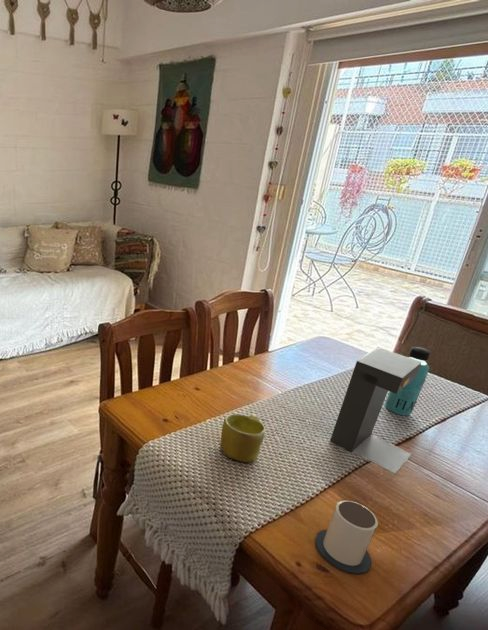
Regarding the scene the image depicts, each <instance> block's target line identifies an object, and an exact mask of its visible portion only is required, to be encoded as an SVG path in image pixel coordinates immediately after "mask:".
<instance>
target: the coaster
mask: <svg viewBox="0 0 488 630" xmlns="http://www.w3.org/2000/svg"><path fill="white" fill-rule="evenodd" d="M326 532H327V529H323V530H321V531H319V532H318V533H317V534H316V535H315V540H314V541H315V542H314V544H315V547H316V550H317V551H318V553H319V554H320V556H321V557H322V558H323V559H324V561H326V562H327V563H328V564H329V565H330V566H331V567H333V568H334V569H337V570H339V571H341V572H343V573H347V574H350V575H363V574H366V573H368V571H370V569H371V566H372V558H371V556H370V553H369V551H368V550H367V551H366V553H365V555H364V558H363V560H362V562H361V563H360V564H358V565H355V566H351V565H346V564H343V563H341V562H339V561H337V560H335V559H334V558H333V557H332V556H330V555H329V553H328V552H327V551H326V549H325V548H324V545H323V540H324V537H325V534H326Z"/></svg>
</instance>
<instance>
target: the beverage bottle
mask: <svg viewBox="0 0 488 630" xmlns="http://www.w3.org/2000/svg"><path fill="white" fill-rule="evenodd" d="M430 354H431V352H430V351H429V350H428V349H427V348H424V347H420V346H412V347H411V348H410V351H409V352H408V355H409V357H408V358H411V359H414V360H417V361H420V362H422V363H421V366H420V368H419V371H418V373H417V376H416V377H415V378H414V379H413V380H412V381H411V382H410V383H409V384H407V385H406V386H405V387H404V388H403V389H402V390H401V391H399V392H398V393H397V394H395V393H393V392H390V391H388V393H387V396H386V399H385V400H384V402H385V403H384V406H385V408H386V409H387V410H389V411H391V412H392V413H394V414H397V415H401V416H409V415H411V413H413V411H414V409H415V406H416V405H417V402H418V398H419V397H420V393H421V391H422V389H423V387H424V385H425V383H426V379H427V377H428V373H429V371H430V369H431V368H430V366H429V363H427V362H426V361H428V360H429V358H430Z"/></svg>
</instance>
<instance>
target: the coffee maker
mask: <svg viewBox="0 0 488 630" xmlns="http://www.w3.org/2000/svg"><path fill="white" fill-rule="evenodd" d="M421 363H422V362H420V361H417V360H414V359H411V358H409V357H408V356H405V355H403V354H400V353H397V352H394V351H392V350H388V349H385V348H382V347H379V346H377V347H376V348H374V349H372V350H371V351H369V352H368V353H366V354H365V355H364V356H362V357H361V358H359V359H357V361H356V362H355V365H354V368H353V371H352V373H351V377H350V380H349V383H348V386H347V389H346V392H345V395H344V398H343V401H342V404H341V407H340V410H339V413H338V415H337V419H336V422H335V424H334V428H333V431H332V433H331V436H330V440H329V442H330V443H332V444H334V445H335V446H338V447H340V448H342V449H344V450H345V451H348V452H349V453H354V454H356V455H358V456H359V457H362V458H364V459H365V460H367V461H369V462H371V463H373V464H375V465H377V466H378V467H381V468H383V469H384V470H386V471H389V472H390V473H392V474H394V475H396V474H397V473H398V471H399V470H401V468H402V467H403V466H404V465H405V463H406V462H407V461H408V460H409V459H410V458H411V457H412V455H413V454H412V453H410V452H409V451H406V450H404V449H402V448H400V447H398V446H396V445H394V444H392V443H390V442H388V441H386V440H385V439H384V440H383V439H381V438H379V437H377V436H375V435H373V432H374V429H375V425H376V423H377V420H378V418H379V415H380V413H381V411H382V408H383V405H384V402H385V400H386V398H387V396H388V393H389V392H393V393H395V394H397V393H398V392H399V391H401V390H402V389H403V388H404V387H405V386H406V385H407V384H409V383H410V382H411V381H412V380H413V379H414V378H415V377H416V376H417V373H418V371H419V368H420V366H421Z"/></svg>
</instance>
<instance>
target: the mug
mask: <svg viewBox="0 0 488 630" xmlns="http://www.w3.org/2000/svg"><path fill="white" fill-rule="evenodd" d="M221 427H222V428H221V433H220V435H221V436H220V448H221V451H222V453H224V455H226V456H227V457H228V458H230V459H232V460H235V461H238V462H242V463H243V462H244V463H253V462H254V461H256V460H257V459H258V457H259V455H260V451H261V447H262V444H263V441H264V439H265V436H266V427H265V425H264V424H263V422H261V421H260V417H259V416H258V414H257V415H256V414H254V413H252V414H250V415H246V414H245V415H244V414H240V413H232V414H228V415H225V417H224V419H223V423H222V426H221Z"/></svg>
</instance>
